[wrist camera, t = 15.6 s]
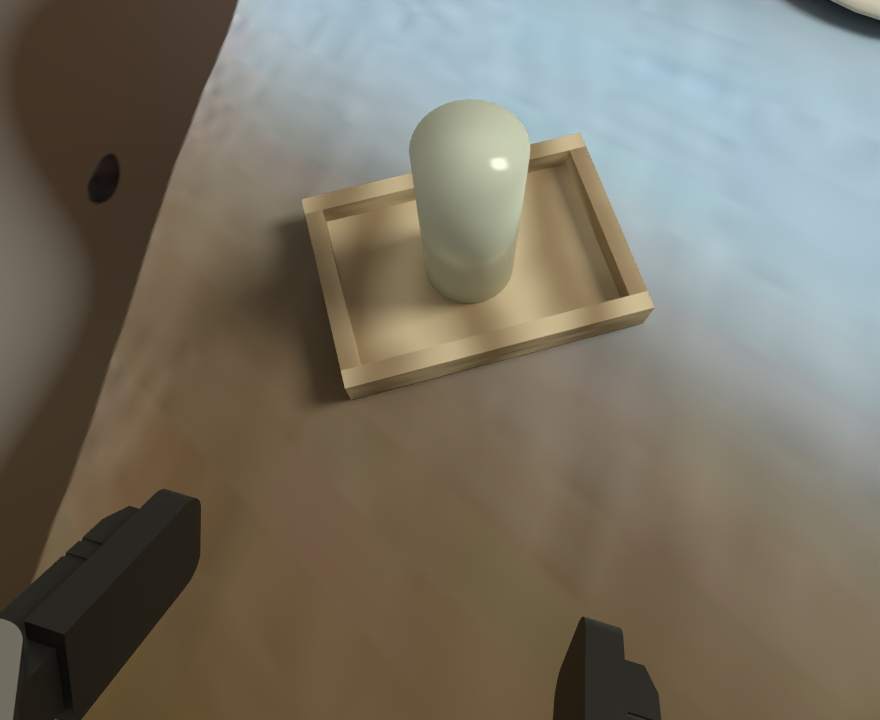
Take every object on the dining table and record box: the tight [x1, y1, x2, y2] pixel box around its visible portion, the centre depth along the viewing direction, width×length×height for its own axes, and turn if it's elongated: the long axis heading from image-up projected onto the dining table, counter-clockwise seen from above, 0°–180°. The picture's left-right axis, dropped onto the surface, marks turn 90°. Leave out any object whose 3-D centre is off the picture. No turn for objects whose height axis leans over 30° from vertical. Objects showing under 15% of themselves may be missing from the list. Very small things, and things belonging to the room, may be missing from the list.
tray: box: [302, 133, 655, 400], centre depth 42 cm, size 20×14×2 cm
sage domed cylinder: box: [409, 100, 530, 304], centre depth 37 cm, size 6×6×12 cm
